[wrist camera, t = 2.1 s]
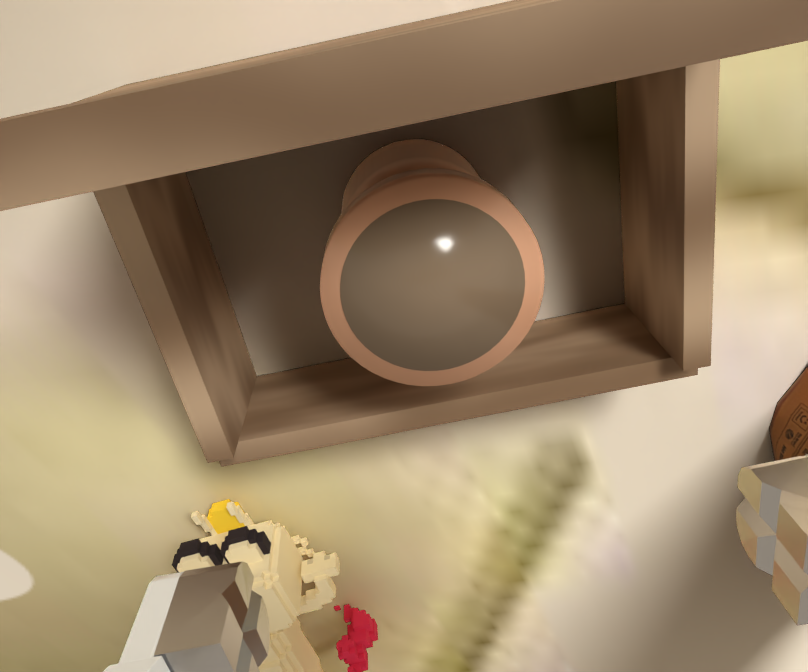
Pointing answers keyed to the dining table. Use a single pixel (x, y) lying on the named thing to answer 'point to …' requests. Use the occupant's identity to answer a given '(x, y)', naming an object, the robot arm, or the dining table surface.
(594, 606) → the dining table surface
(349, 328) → the terracotta pot
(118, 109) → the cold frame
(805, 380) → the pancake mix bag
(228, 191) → the dining table surface
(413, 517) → the dining table surface
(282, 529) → the cream toy figurine
